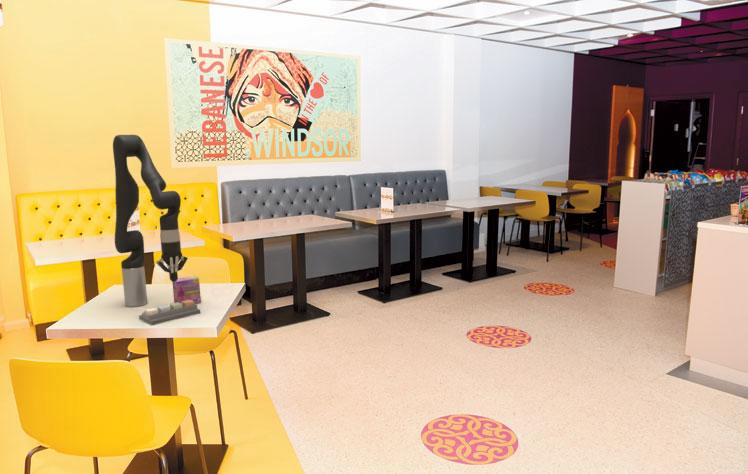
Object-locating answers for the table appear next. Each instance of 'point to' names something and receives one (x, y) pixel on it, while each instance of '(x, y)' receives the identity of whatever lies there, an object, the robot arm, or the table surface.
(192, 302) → the key terracotta
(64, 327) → the table surface
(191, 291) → the box
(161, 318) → the keypad
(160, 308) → the key blue
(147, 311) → the key cream
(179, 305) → the key sage
